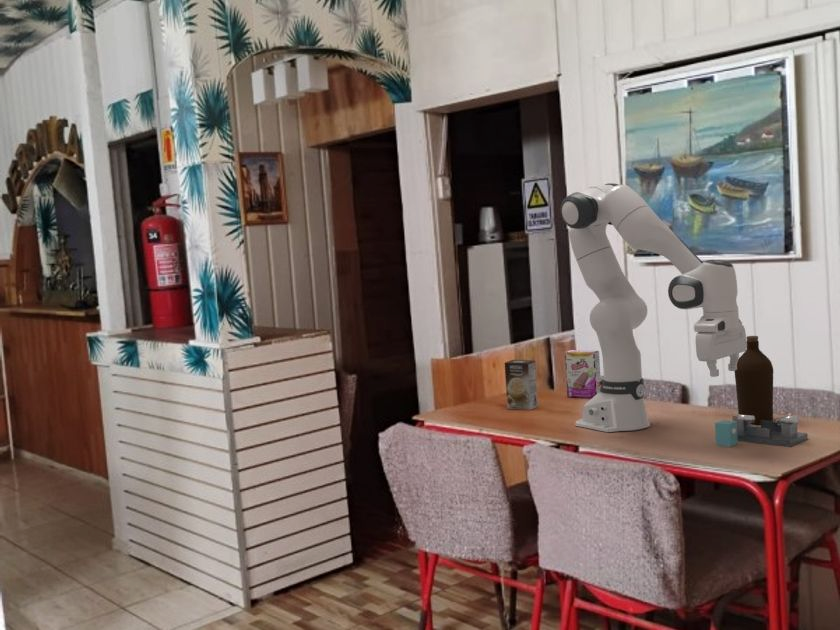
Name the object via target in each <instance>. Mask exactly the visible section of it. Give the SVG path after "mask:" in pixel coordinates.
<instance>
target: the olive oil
mask: <svg viewBox="0 0 840 630" xmlns="http://www.w3.org/2000/svg"><path fill="white" fill-rule="evenodd" d="M746 340H747V348H746V351H744V352H742V354H741V355H740V356H739V359H738V362H737V370H735V371H733V372H734V378H735V389H736V391H735V392H736V400H737V413H738V414H741V415H751V416H754V417H755V422H754V423H751V426H761V420H766V421H774V367H773V363H772V361H771V360H770V358H769V357H768V356H767V355H765V353H763V352H762V351H761V349H760V346H759V344H760V342H759V336H758V335H748V336H747V335H746Z"/></svg>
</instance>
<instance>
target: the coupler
mask: <svg viewBox="0 0 840 630" xmlns="http://www.w3.org/2000/svg"><path fill="white" fill-rule="evenodd" d="M714 429H715V430H714V432H715V445H716V446H719V447H720V446H721V447H728V448H731V447H733V446H735V445H738V443H739V442H738V441H737V422H736V421H733V420H724V419H722V420H720V421H717V422H714Z"/></svg>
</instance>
